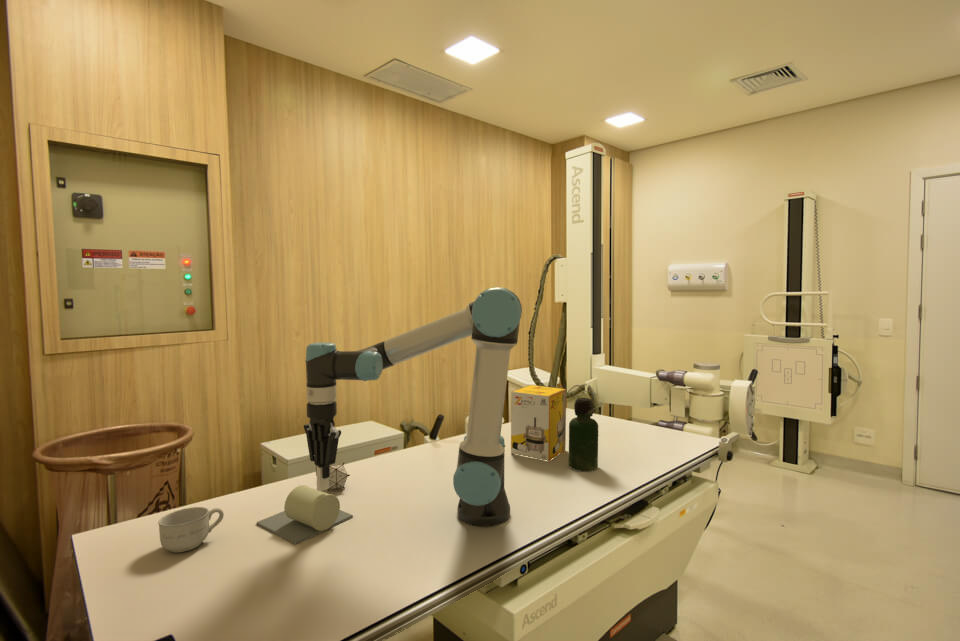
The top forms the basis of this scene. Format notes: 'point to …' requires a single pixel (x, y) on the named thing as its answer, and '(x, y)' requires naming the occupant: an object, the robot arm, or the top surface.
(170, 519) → the teacup
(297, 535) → the mat
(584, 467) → the green bottle
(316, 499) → the can
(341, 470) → the game die
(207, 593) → the top surface
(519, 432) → the packaging box
